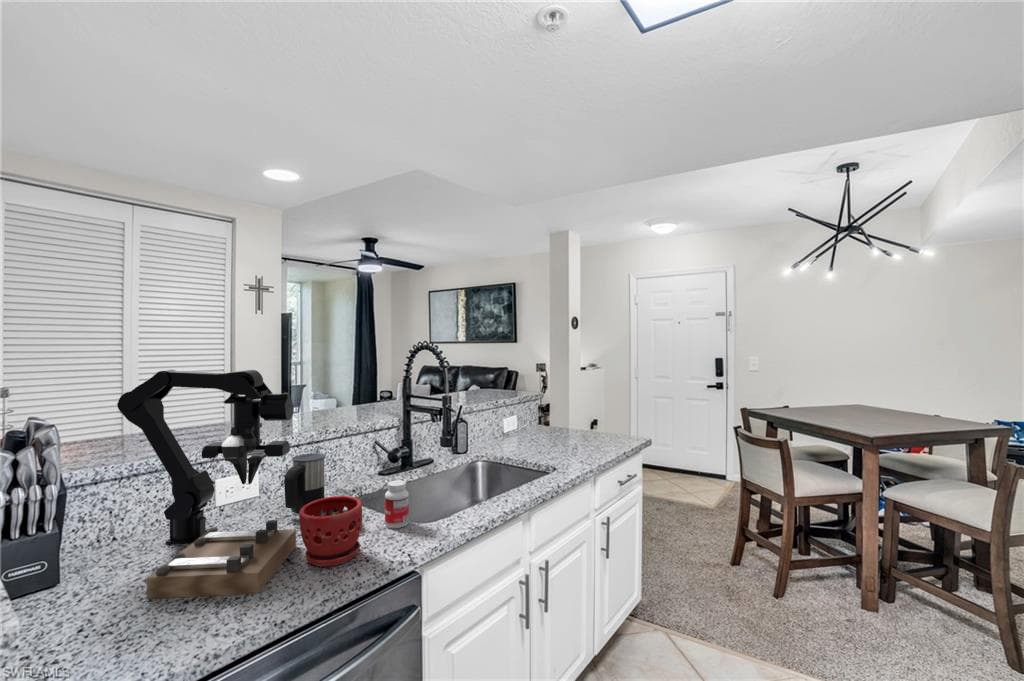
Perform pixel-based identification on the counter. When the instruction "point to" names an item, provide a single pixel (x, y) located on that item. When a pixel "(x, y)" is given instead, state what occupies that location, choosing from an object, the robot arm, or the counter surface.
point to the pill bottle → (396, 505)
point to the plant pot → (331, 530)
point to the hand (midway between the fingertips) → (247, 483)
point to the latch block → (225, 579)
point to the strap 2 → (234, 535)
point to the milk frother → (304, 481)
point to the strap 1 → (202, 562)
